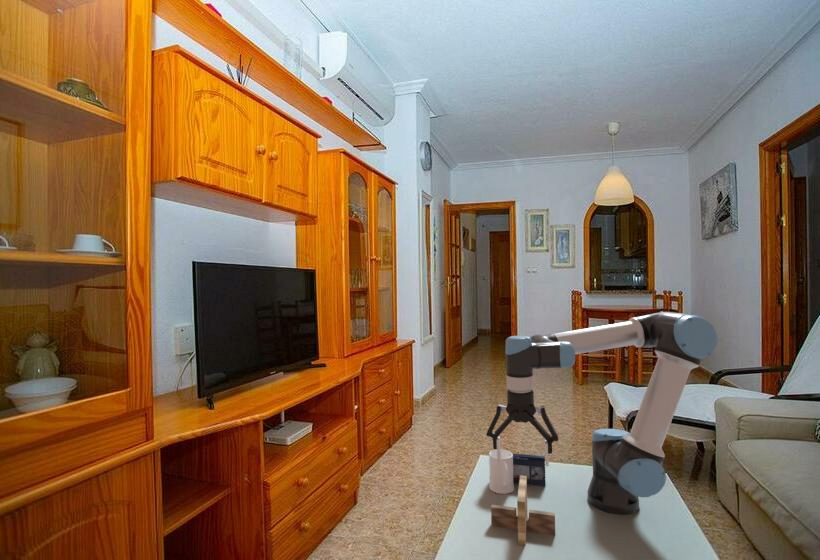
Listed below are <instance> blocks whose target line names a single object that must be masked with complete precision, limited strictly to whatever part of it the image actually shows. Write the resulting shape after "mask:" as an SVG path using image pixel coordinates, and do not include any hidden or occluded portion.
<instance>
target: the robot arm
mask: <svg viewBox="0 0 820 560" xmlns="http://www.w3.org/2000/svg"><path fill="white" fill-rule="evenodd" d="M718 339H719V337H718V333H717V330H716V328H715V326H714V325H713V323H711V322H710V321H709V320H708V319H707V318H704V317H702V316H700V315H696V314H691V313H682V312H681V313H680V312H674V311H662V312H661V311H659V312H655V313H649V314H645V315H641V316H635V317H631V318H629V319H628V321H623V322H617V323H613V324H612V323H611V324H606V325H599V326H593V327H587V328H581V329H574V330H568V331H561V332H556V333H551V334H550V333H549V334H543V335H542V334H531V335H530V336H527V335H511V336H509V337H507V338H506V339H505V352H504V353H505V365H506V366H505V367H506V375H505V376H506V389H507V390H506V396H507V397H506V398H507V404H506V405H502V404H501V403H497V406H496V413H495V414H494V416H493V419H492V421H491V423H490V424H489V427H488V430H487V431H486V434H485V435H486V436H487V437H490V438H491V439H492V448H493V450H497V462H500V460H501V450H502V449H501V436H500V435H501V434H502V432H504V431H505V429H507V427H508V426H509V424H511V423H512V422H513V421H514V422H515V423H523V424H524V423H528V422H529V423H530V424H531V425H532V426H533V427H534V428H535V429H536V430H537V432H539V434H540V435H541V436H542V437H543V439H544V452H545V455H544V456H545V467H549V466H550V465H549V455H551V454H552V453H553V443H554V442H558V441H559V435H558V432H557V431H556V429H555V428H554V425H553V424H552V422H551V420H550V418H549V416H548V415H547V411H546V406H544V405H541V407H537V406H536V407H535V398H534V396H535V395H534V390H533V389H534V372H533V371H534V370H535V369H536V370H537V369H538V370H539V369H565V368H571V367H573V366H574V365H575V362H576V355H580V354H585V353H586V354H587V353H591V352H599V351H603V350H610V349H617V348H623V347H628V346H630V347H631V346H634V347H636V348H645V347H653V348H655V349H654V353H655V355H656V356H657V361H656V363H655V366H654V369H653V370H652V374H651V377H650V378H649V379H650V380H649V382H648V384H647V387H646V390H645V393H644V395H643V397H642V399H641V402H640V405H639V408H638V411H637V413H636V416H635V419H634V421H633V424H632V427H631V430H630V432H629V431H627V430H622V429H618V428H617V429H616V428H599V429H596V430H594V431H593V432H592V438H591V448H592V449H591V451H592V453H591V454H592V477H591V479H590V482H589V485H588V489H587V500H588V502H589V504H591V505H592V506H593V507H595V508H597V509H599V510H600V511H601V510H602V511H604V512H607V513H610V514H617V515H628V514H633V513H635V512H637V511H638V510H639V509H640V499H639V498H650V497H652V496H655V495H657V494H659V493H660V492H661V491H662V490H663V488H664V487H665V485H666V482H667V475H666V472H665V469H664V467H663V463H664V460H665V457H666V455H665V453H664V450H663V448H662V447H663V444H664V442H665V440H666V436H667V434H668V432H669V428H670V426H671V424H672V420H673V418H674V416H675V413H676V409H677V408H678V404H679V403H680V400H681V397H682V394H683V391H684V388H685V387H686V384H687V381H688V378H689V376H690V373H691V372H692V370H693V369H696V368H699V367H700V365H701V362H702V360H703V359H704V358H707V357H708V356H711V355H712V354H714V352H715V351H716V349H717V347H718V342H719V340H718ZM505 411H506V413H507V414H508V415H507V416H506V419H504V421H503V422H502V423H501V424H500V426H498V428H497V429H496V430H495V431H493V430H494V428H495V426H496V425H497V423H498V421H499V419H500V415H501V414H503V413H504V412H505ZM536 413H538V415H539V416H541V418H542V421H543V422H544V424H545V426H546V428H547V429H548V431H547V430H546V429H545V428H544V426H543V425H542V424H541V423H540V421H538V420H537V418H536V417H535V416H534V415H535V414H536ZM549 433H550V434H549Z"/></svg>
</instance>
